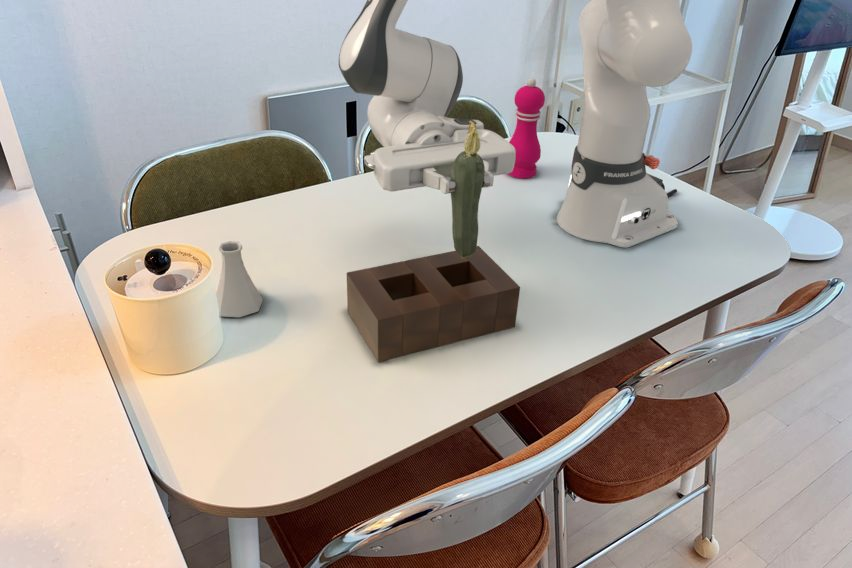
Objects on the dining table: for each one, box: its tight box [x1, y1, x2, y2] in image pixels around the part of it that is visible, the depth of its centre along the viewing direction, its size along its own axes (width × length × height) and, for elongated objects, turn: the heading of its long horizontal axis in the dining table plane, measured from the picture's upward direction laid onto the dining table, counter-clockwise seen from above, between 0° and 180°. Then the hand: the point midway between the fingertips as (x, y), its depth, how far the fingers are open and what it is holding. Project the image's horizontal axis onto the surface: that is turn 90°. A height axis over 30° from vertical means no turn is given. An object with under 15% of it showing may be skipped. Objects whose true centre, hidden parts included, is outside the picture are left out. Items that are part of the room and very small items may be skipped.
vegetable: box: [450, 121, 485, 259], centre depth 93 cm, size 4×4×20 cm
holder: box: [346, 245, 521, 363], centre depth 100 cm, size 21×12×7 cm, turn 114°
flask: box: [216, 240, 264, 318], centre depth 100 cm, size 7×7×10 cm
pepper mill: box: [507, 77, 546, 180], centre depth 142 cm, size 7×7×20 cm
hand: (470, 185), depth 91 cm, fingers closed on vegetable, 4 cm apart
